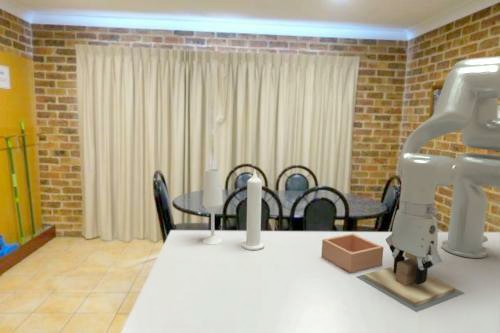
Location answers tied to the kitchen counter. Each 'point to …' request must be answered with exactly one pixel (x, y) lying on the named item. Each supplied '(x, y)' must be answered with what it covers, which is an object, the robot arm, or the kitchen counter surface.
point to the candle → (253, 214)
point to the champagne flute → (212, 200)
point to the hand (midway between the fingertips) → (409, 276)
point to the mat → (416, 309)
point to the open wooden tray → (352, 253)
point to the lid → (409, 283)
